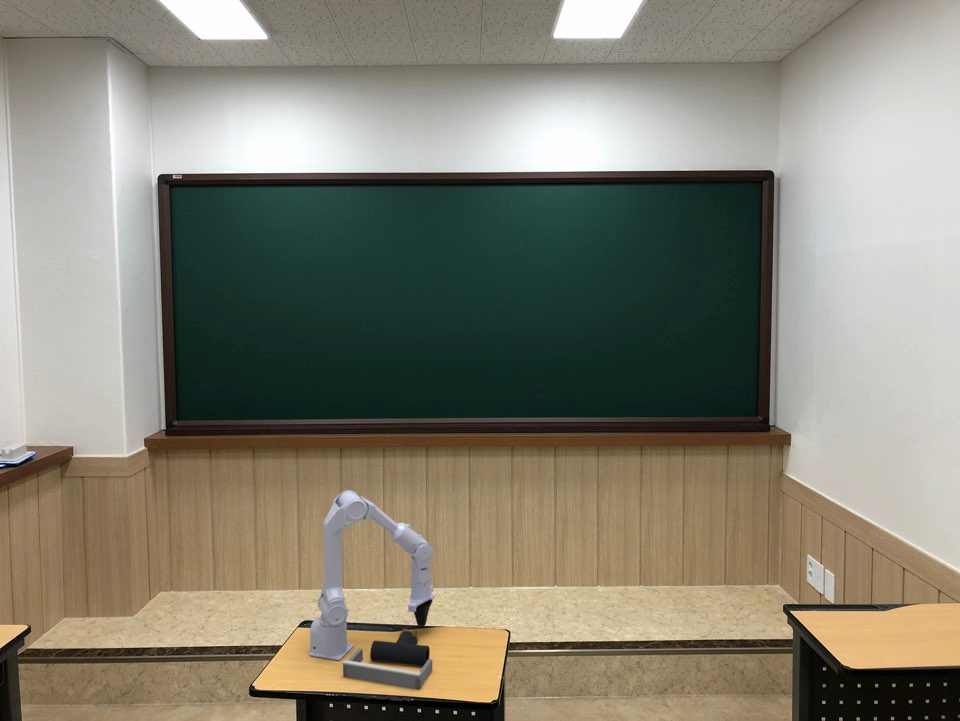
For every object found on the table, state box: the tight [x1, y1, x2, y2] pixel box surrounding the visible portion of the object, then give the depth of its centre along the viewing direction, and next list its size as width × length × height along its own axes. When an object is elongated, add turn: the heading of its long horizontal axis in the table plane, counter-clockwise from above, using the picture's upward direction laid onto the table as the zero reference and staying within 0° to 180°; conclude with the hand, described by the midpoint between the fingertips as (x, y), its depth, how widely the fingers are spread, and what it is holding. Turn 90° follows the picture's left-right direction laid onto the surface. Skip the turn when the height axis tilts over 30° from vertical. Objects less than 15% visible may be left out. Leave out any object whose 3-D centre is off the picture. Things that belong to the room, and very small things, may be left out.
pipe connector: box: [369, 628, 431, 667], centre depth 182 cm, size 12×5×15 cm
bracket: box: [342, 647, 433, 690], centre depth 173 cm, size 21×9×4 cm, turn 73°
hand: (421, 625), depth 195 cm, fingers closed
